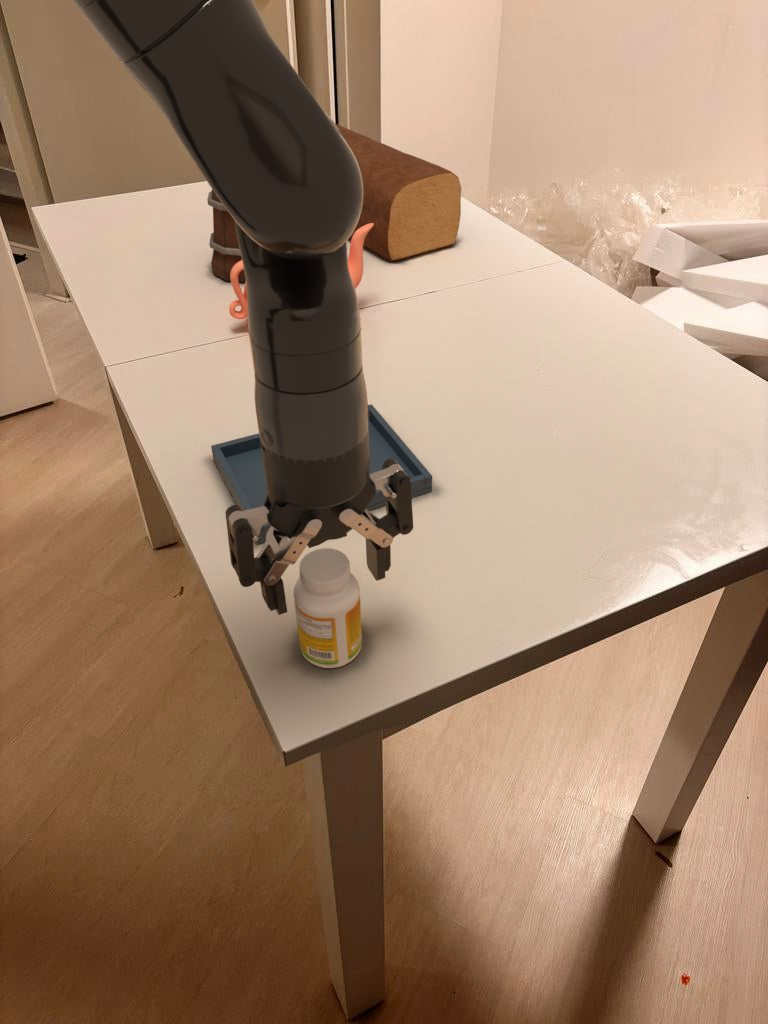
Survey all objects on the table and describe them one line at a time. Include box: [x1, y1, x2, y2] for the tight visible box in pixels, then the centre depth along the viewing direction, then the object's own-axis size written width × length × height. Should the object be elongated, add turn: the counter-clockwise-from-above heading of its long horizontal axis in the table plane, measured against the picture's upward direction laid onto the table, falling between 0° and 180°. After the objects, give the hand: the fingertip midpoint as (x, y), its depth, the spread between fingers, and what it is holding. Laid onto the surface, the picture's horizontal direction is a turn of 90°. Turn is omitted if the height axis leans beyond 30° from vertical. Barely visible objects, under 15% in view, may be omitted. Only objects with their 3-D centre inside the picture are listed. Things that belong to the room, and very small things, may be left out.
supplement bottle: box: [293, 547, 363, 669], centre depth 66 cm, size 5×5×10 cm
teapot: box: [228, 223, 374, 320], centre depth 113 cm, size 22×16×12 cm
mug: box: [207, 188, 246, 283], centre depth 128 cm, size 16×12×15 cm
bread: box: [335, 123, 462, 262], centre depth 142 cm, size 16×39×13 cm, turn 34°
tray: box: [210, 403, 433, 545], centre depth 87 cm, size 20×16×2 cm
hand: (328, 589), depth 65 cm, fingers open, 8 cm apart
